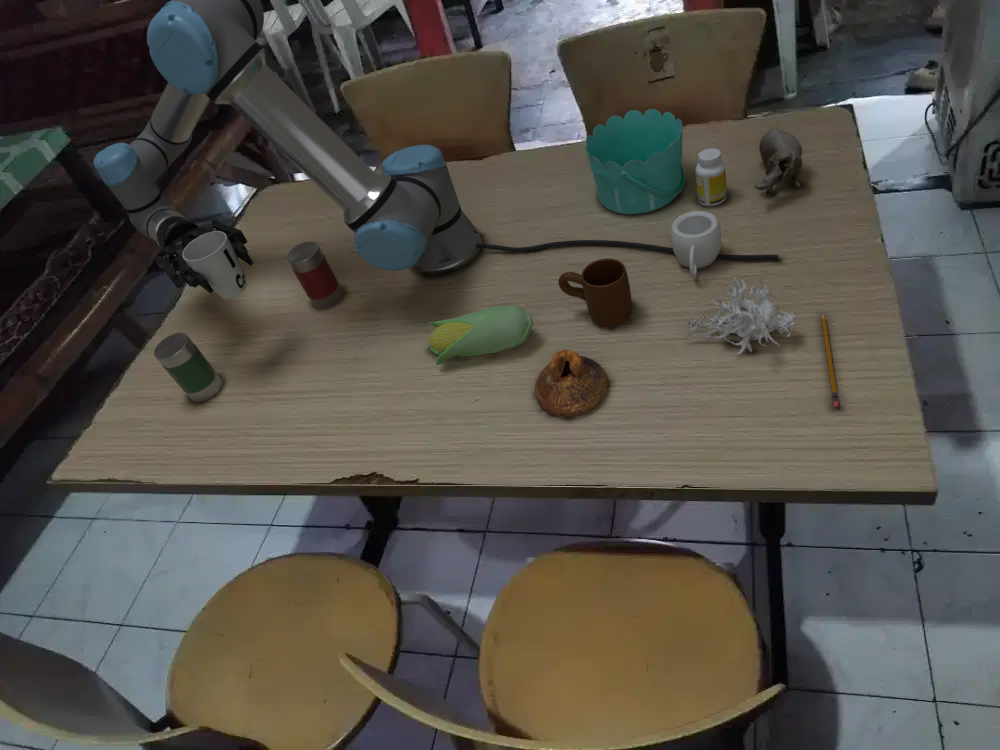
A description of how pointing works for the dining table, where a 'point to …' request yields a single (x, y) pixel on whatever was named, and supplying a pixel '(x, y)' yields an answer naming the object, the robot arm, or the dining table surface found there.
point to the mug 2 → (696, 239)
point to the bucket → (637, 161)
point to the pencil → (829, 362)
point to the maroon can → (315, 274)
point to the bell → (570, 384)
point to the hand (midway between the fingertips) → (228, 272)
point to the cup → (216, 263)
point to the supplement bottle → (711, 178)
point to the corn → (480, 332)
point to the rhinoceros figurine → (779, 158)
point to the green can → (188, 367)
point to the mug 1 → (602, 291)
